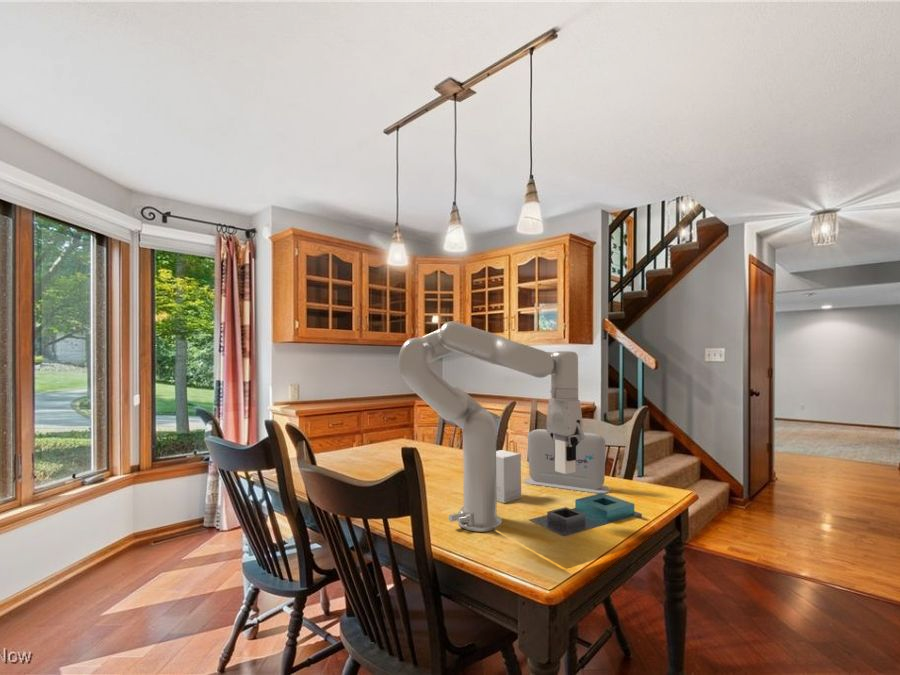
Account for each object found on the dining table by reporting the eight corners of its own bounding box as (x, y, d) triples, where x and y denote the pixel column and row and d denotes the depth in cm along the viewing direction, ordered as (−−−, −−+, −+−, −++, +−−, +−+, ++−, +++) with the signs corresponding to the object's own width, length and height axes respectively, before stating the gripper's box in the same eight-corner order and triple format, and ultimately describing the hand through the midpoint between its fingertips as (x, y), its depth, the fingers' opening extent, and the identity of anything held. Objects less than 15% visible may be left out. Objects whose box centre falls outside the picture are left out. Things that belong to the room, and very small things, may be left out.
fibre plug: (565, 474, 127) (564, 423, 127) (555, 470, 130) (554, 421, 131) (575, 472, 129) (575, 422, 130) (565, 468, 133) (564, 420, 133)
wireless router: (520, 483, 171) (520, 430, 171) (528, 477, 179) (528, 426, 180) (607, 495, 156) (606, 437, 157) (612, 488, 165) (611, 432, 166)
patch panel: (563, 540, 119) (563, 525, 119) (528, 523, 131) (528, 509, 131) (641, 517, 136) (641, 503, 136) (603, 503, 148) (603, 491, 148)
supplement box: (522, 498, 154) (522, 453, 154) (504, 504, 148) (504, 457, 148) (502, 491, 161) (502, 449, 161) (484, 497, 155) (484, 453, 155)
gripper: (535, 392, 136) (535, 454, 135) (577, 397, 121) (577, 466, 121) (553, 391, 140) (554, 451, 139) (596, 396, 125) (597, 463, 125)
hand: (565, 458), depth 130 cm, fingers closed on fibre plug, 4 cm apart
